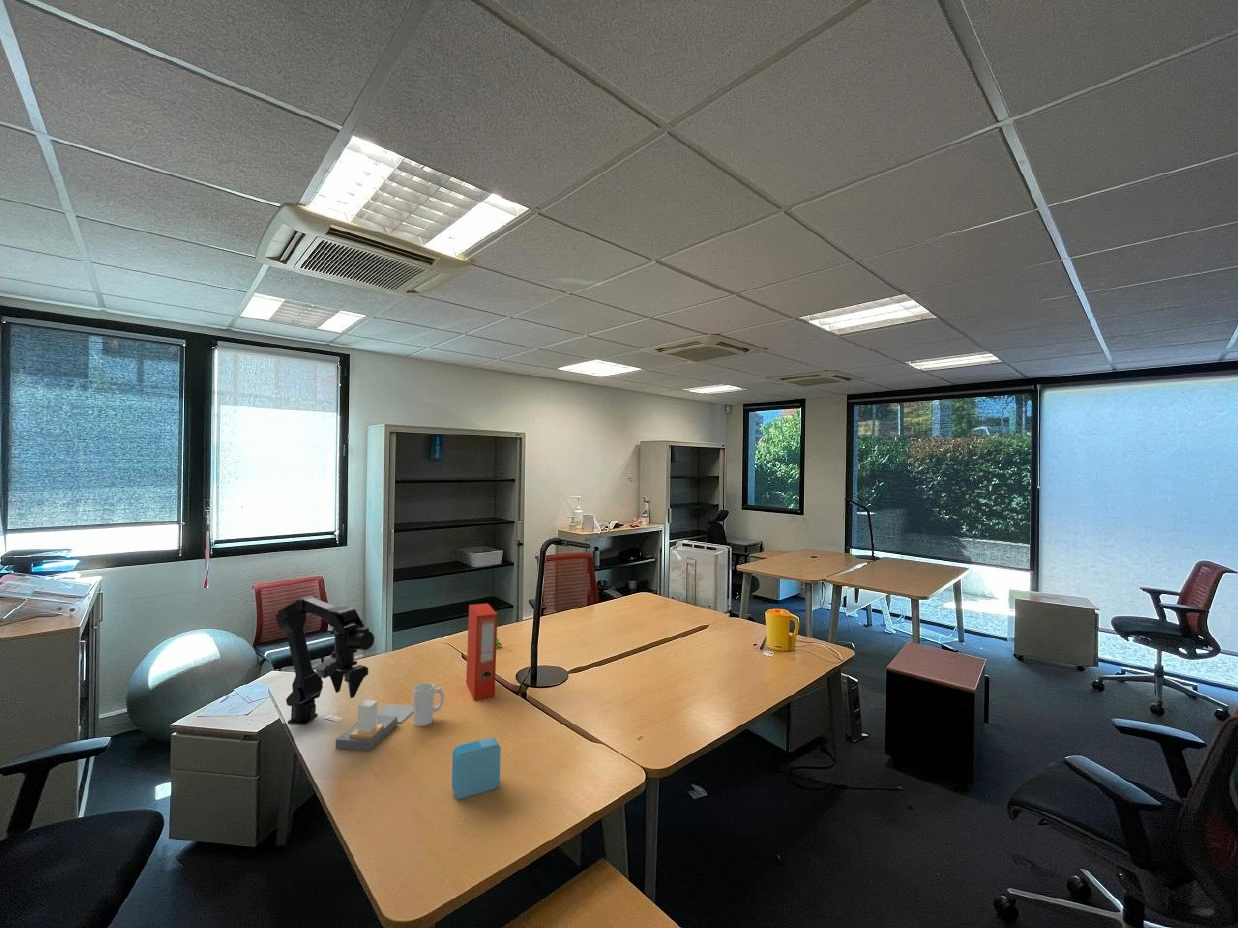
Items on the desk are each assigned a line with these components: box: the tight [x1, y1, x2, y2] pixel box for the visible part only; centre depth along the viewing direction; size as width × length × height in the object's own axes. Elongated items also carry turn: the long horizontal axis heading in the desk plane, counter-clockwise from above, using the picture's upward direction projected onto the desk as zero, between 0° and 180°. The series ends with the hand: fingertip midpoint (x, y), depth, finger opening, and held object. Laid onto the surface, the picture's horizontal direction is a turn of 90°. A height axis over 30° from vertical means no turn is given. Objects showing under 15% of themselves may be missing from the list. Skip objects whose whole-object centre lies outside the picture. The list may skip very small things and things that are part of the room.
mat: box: [377, 703, 413, 724], centre depth 173 cm, size 12×12×1 cm
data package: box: [451, 737, 502, 800], centre depth 133 cm, size 12×4×12 cm, turn 120°
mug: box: [412, 682, 445, 727], centre depth 169 cm, size 10×7×12 cm, turn 116°
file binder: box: [465, 603, 499, 701], centre depth 195 cm, size 8×17×32 cm, turn 27°
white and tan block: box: [350, 699, 384, 739], centre depth 155 cm, size 7×7×12 cm
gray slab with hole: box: [335, 715, 398, 752], centre depth 158 cm, size 11×16×3 cm
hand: (344, 694), depth 162 cm, fingers open, 9 cm apart
